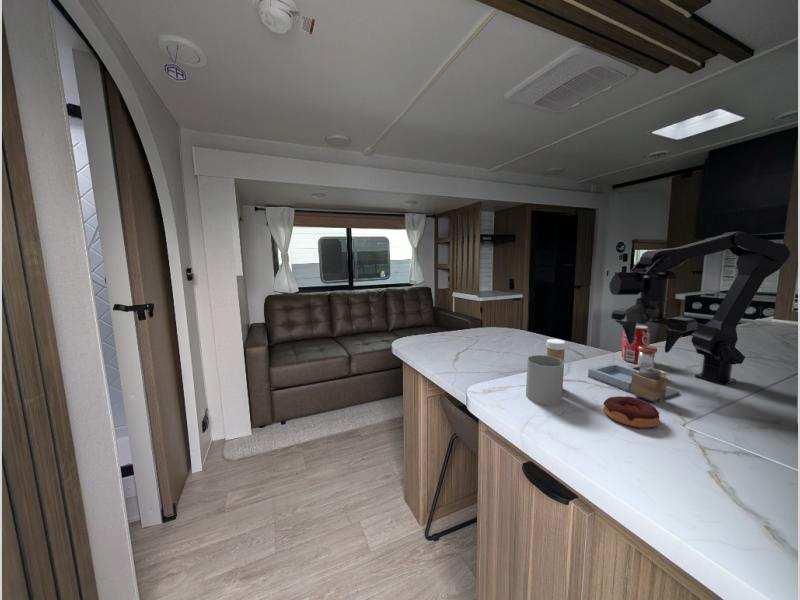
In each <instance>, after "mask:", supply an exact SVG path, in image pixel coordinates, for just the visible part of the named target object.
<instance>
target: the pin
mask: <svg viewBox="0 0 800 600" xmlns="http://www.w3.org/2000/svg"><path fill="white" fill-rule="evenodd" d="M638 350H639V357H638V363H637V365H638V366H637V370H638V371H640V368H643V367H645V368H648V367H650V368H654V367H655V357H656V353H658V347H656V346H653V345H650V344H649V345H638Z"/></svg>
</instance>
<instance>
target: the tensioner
mask: <svg viewBox="0 0 800 600" xmlns="http://www.w3.org/2000/svg"><path fill="white" fill-rule="evenodd" d="M653 368H654V367H653ZM653 368H650V367H648V368H645V367H643V368H640V371H639V372H638V373H634V374H632V380H631V390H630V392H629V393H630V394H634V395H635V396H636V395H638V396H641V397H644V398H646V399H649V400H651V401H655V400H658V399H661V398H664V397H665V394H666V387H667V383H668V377H667V376H666V377H663V376H660V374H661V372H660V371H658V370H659V369H657V368H654V369H653ZM656 369H657V370H656ZM638 396H637V397H638ZM651 401H650V402H651Z"/></svg>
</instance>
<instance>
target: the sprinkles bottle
mask: <svg viewBox="0 0 800 600" xmlns="http://www.w3.org/2000/svg"><path fill="white" fill-rule="evenodd" d="M566 345H567V344H566V341H565V340H563V339H558V338H550V339H547V340H546V356H551V357H555V358H558V359H561V360H562V361H563V362H564V363H565V351H566V350H565V349H566V347H567V346H566ZM564 375H565V373H564V374H563V377H564Z"/></svg>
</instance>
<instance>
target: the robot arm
mask: <svg viewBox="0 0 800 600" xmlns="http://www.w3.org/2000/svg"><path fill="white" fill-rule="evenodd" d="M726 250H727V252H729V253H730V254H731V255H733V256H735V257H737V259H736V266H737V275H736V277H735V278H734V280H733V281H732V284H731V285H730V287H729V289H728V290H727V293H725V296H724V297H723V300H721V303H720V304H719V306H718V308H717V310H716V311H715V314H714V315H713V317H712V319H710V321H708V322H706V323H705V324H704V323H700V322H698V320H697V319H696V318H692V317H685V316H675V317H668V312H666V305H667V303H669V300H670V299H669V298H667V296H668V295H667V294H668V287H669V280H677V279H679V276H677V275H676V274H675V273H673V271H672V269H675V268H677V267H679V266H681V265H682V264H684V263H685V262H688V261H689V260H693V259H697V258H700V257H701V258H702V257H704V256H708V255H711V254H716V253H718V252H723V251H726ZM790 257H791V251H790V250H789V247H788V246H787V245H786V244H784V243H781V242H774V241H772V240H769V239H766V238H761V237H757V236H754V235H752V234H750V233H748V232H745V231H731V232H730V231H729V232H724V233H722V234H721V235H717V236H713V237H709V238H706V239H703V240H698V241H695V242H692V243H688V244H684V245H682V246H681V245H680V246H678V247H677V246H676V247H673V248H661V249H653V250H647V251H644V252H643V253H642V254H641V256H640V258H639V260H638V262H637V263H636V264H635V265H634V266H633V267H632V268H631V269H630V270H629V271H617V270H616V271H614V275H613V276H612V277H611V280H610V281H609V291H610V293H611V294H612V295H614V296H637V295H639V297H637V298H636V301H635V304H634V305H632V306H630V307H628V308H619V309H614V310H612V312H611V317H610V318H611V319H613V320H614V321H615V323H618V324H619V325H620V326H622V328H623V331H625V333H626V336H627V339H628V342H629V344H632V343H633V340H634V335H635V329H636V325H644V324H647V323H654V324H662V325H665V326H667V329H665V332H666V337H665V338H666V339H665V345H664V353H669V352H670V351H671V350H672V348H673V347H674V345H675V344H676V343H677V341H678V340H679V339H680V338H681V337H682V336H683V335H684V334H685V333H690V332H691V331H693V332H692V333H691V334H690V336H692V338H691V340H690V341H691V342H690V343H692V345H693V347H694V349H695V352H696V354H698V355H700V356H701V355H702V356H703V360H702V366H701V367H702V368H701V372H700V373H696V374H694V375H695V376H694V377H695V378H699V379H702V380H706V381H710V382H712V383H713V382H714V383H717V384H721V385H725V386H726V385H728V384H732V383H735V382H737V379H736V378H734V377H732V371H733V365H741V364H742V363H744V360H745V359H746V356H745V354H743V353H742V352H741V351H740V350H739V349H737V348H736V345H737V342H738V334H737V332H738V331H737V326H738V325H739V323H740V321H741V320H742V318H743V316H744V315H745V312H747V309H748V308H749V306H750V304H751V302H752V301H753V299H754V298H755V296H756V294H757V293H758V291H759V289H760V288H761V286H762V284H763V282H764V280H766V278H768V277H770V276H771V275H773V274H774V273H776V272H777V271H780V269H781V268H782V267H783V266H784V264H785V263H787V261H788V260H789V258H790Z"/></svg>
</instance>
